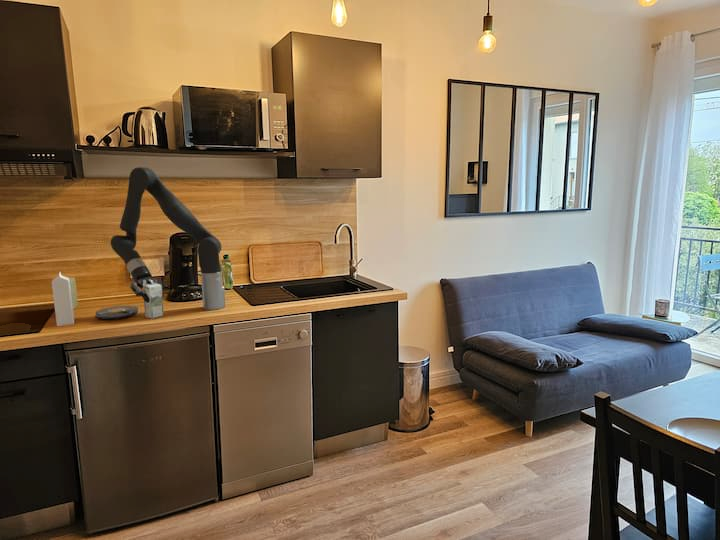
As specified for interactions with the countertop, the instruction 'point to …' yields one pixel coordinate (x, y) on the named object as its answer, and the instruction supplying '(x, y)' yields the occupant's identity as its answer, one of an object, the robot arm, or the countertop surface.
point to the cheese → (73, 292)
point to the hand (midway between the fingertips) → (155, 300)
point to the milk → (63, 300)
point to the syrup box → (154, 301)
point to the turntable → (116, 312)
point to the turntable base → (117, 318)
